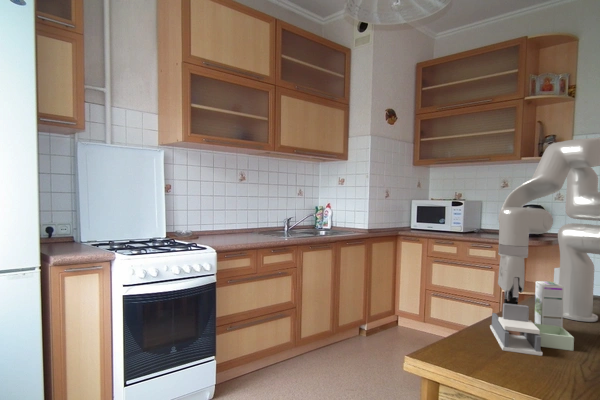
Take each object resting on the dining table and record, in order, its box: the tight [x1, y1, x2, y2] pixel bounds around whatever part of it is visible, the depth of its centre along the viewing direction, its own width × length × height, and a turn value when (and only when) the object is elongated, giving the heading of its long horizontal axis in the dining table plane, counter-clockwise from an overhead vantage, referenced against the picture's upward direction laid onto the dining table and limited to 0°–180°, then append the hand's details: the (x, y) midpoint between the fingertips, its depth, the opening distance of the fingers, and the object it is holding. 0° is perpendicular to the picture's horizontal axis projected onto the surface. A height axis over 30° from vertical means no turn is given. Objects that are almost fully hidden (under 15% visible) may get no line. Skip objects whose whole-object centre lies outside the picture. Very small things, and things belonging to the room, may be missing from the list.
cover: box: [498, 302, 540, 334], centre depth 102 cm, size 8×8×5 cm
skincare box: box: [553, 267, 560, 284], centre depth 154 cm, size 6×4×12 cm
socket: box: [533, 322, 575, 352], centre depth 105 cm, size 9×9×4 cm
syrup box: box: [533, 280, 564, 328], centre depth 114 cm, size 6×6×14 cm
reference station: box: [489, 312, 543, 356], centre depth 106 cm, size 18×9×5 cm, turn 163°
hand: (510, 313), depth 111 cm, fingers closed
